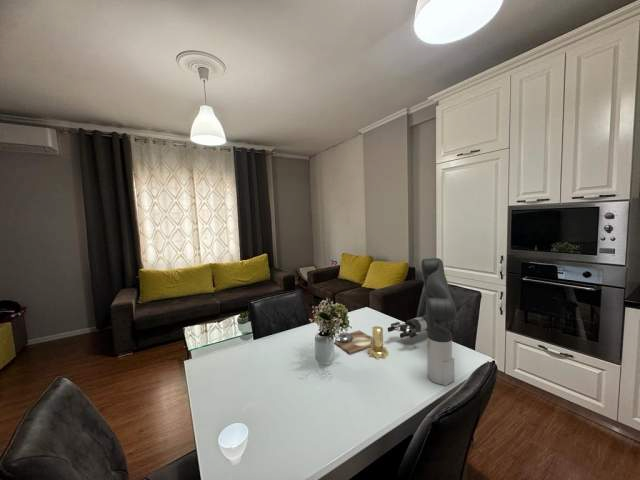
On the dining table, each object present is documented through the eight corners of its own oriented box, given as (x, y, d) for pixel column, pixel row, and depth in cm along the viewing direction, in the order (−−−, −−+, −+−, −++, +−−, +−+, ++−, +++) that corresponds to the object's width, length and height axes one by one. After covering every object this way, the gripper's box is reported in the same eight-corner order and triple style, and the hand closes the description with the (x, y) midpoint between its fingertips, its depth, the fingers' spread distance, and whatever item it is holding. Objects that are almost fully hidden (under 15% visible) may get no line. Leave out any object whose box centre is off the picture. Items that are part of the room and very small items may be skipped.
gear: (355, 340, 139) (355, 334, 139) (342, 345, 134) (341, 338, 134) (345, 334, 147) (345, 328, 147) (332, 338, 143) (332, 331, 143)
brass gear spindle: (392, 355, 125) (391, 329, 124) (377, 361, 120) (376, 334, 119) (378, 347, 133) (378, 323, 132) (364, 352, 129) (363, 327, 128)
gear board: (380, 344, 137) (380, 341, 137) (349, 354, 127) (349, 352, 127) (359, 332, 152) (359, 330, 152) (330, 340, 143) (330, 338, 142)
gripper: (405, 315, 145) (384, 321, 137) (427, 323, 133) (404, 330, 125) (405, 327, 146) (384, 334, 138) (427, 337, 134) (405, 345, 126)
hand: (394, 332), depth 132 cm, fingers open, 8 cm apart
